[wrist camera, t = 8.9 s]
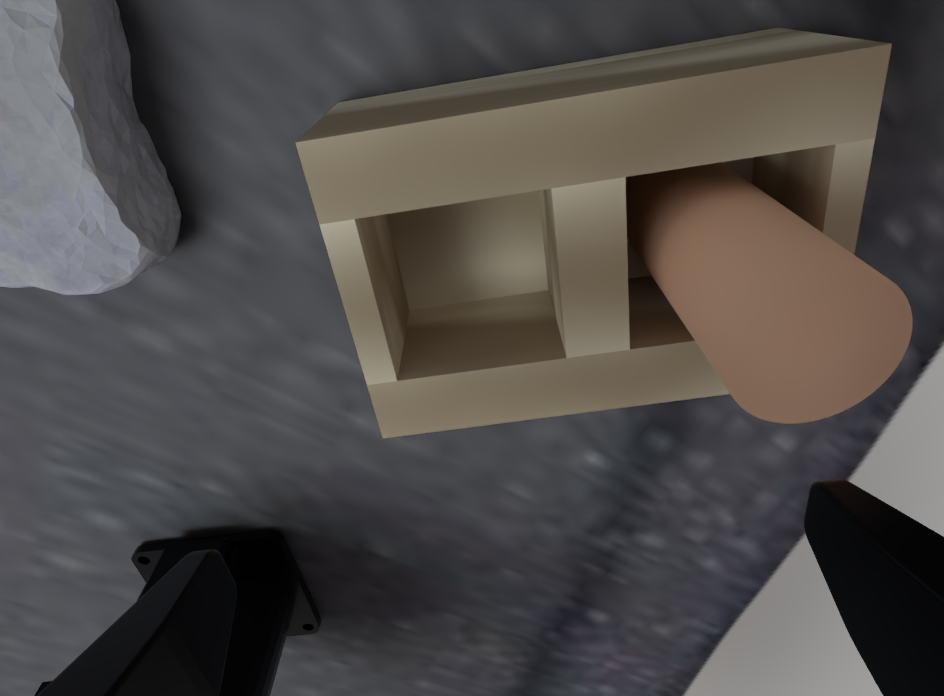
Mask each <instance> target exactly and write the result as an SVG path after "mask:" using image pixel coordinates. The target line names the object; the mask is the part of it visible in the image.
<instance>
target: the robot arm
mask: <svg viewBox="0 0 944 696" xmlns="http://www.w3.org/2000/svg"><path fill="white" fill-rule="evenodd" d="M804 528H805V533H806V536H807V538H808V541H809V543H810V545H811V548H812V550H813V552H814V555H815V557H816V559H817V562H818V564H819V566H820V568H821V571H822V573H823V576H824V578H825V580H826V582H827V585H828V587H829V589H830V592H831V594H832V596H833V599H834V601H835V603H836V606H837V608H838V610H839V612H840V615H841V617H842V619H843V622H844V624H845V626H846V628H847V630H848V632H849V634H850V637H851V638H852V640H853V642H854V644H855V646H856V648H857V650H858V652H859V653H860V655H861V657H862V659H863V660H864V662H865V664H866V666H867V668H868V669H869V671H870V673H871V675H872V676H873V678H874V680H875V682H876V684H877V685H878V687H879V689H880V691H881V692H882V694H883V696H944V537H943V536H941V535H940V534H938V533H936V532H934V531H933V530H931V529H929V528H927V527H926V526H924V525H922V524H921V523H919V522H917V521H916V520H914V519H912V518H910V517H909V516H907V515H905V514H904V513H902V512H900V511H898V510H897V509H895V508H893V507H892V506H890V505H888V504H886V503H885V502H883V501H881V500H879V499H878V498H876V497H874V496H872V495H871V494H869V493H867V492H866V491H864V490H862V489H861V488H859V487H857V486H856V485H854V484H852V483H850V482H849V481H846V480H844V479H832V480H823V481H817V482H814V483H813V484H812V486H811V488H810V492H809V498H808V503H807V508H806V513H805V519H804ZM132 562H133V563H134V565H135V566H136V568H137V569H138V571H139V572H140V574H141V575H142V577H143V579H144V580H145V582H146V585H145V586H144V588H143V590H142V592H141V594H140V596H139V598H138V600H137V601H136V603H135V604H134V605H133V606H132V607H131V608H129V609H128V610H127V611H126V612H125V613H124V614H123V615H122V616H121V617H120V618H119V619H118V620H117V621H116V622H115V623H114V624H112V625H111V626H110V627H109V628H108V629H107V630H106V631H105V632H104V633H103V634H102V635H101V636H100V637H99V638H98V639H97V640H96V641H94V642H93V643H92V644H91V645H90V646H89V647H88V648H87V649H86V650H85V651H84V652H83V653H82V654H81V655H80V656H79V657H77V658H76V659H75V660H74V661H73V662H72V663H71V664H70V665H69V666H68V667H67V668H66V669H65V670H64V671H63V672H62V673H61V674H59V675H58V676H57V677H56V678H55V679H54V680H53V681H49V682H42V684H41V686H40V687H39V689H38V691H37V692H36V694H35V696H270V694H271V690H272V686H273V683H274V679H275V676H276V672H277V668H278V665H279V661H280V657H281V654H282V650H283V646H284V643H285V639H286V636H295V635H305V634H313V633H316V632H317V631H318V630H319V627H320V623H321V618H320V616H319V614H318V612H317V609H316V607H315V605H314V603H313V600H312V598H311V596H310V594H309V592H308V589H307V587H306V585H305V583H304V580H303V578H302V576H301V574H300V572H299V569H298V567H297V565H296V563H295V561H294V558H293V556H292V554H291V552H290V549H289V547H288V545H287V543H286V541H285V538H284V536H283V535H282V534H281V533H279V532H278V531H275V530H264V531H256V532H248V533H239V534H231V535H222V536H214V537H206V538H197V539H189V540H180V541H172V542H164V543H155V544H147V545H141V546H139V547H138V548H137V549H136V550H135V552H134V554H133V555H132Z"/></svg>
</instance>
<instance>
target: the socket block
mask: <svg viewBox="0 0 944 696" xmlns="http://www.w3.org/2000/svg"><path fill="white" fill-rule="evenodd" d="M891 47H892V44H891V43H884V42H877V41H870V40H863V39H856V38H849V37H842V36H835V35H828V34H820V33H813V32H806V31H799V30H792V29H785V28H774V29H768V30H762V31H756V32H750V33H744V34H738V35H732V36H726V37H720V38H715V39H709V40H703V41H697V42H691V43H685V44H679V45H673V46H667V47H662V48H656V49H650V50H644V51H638V52H632V53H626V54H620V55H614V56H609V57H603V58H597V59H591V60H585V61H579V62H573V63H567V64H561V65H556V66H550V67H544V68H538V69H532V70H526V71H520V72H514V73H508V74H503V75H497V76H491V77H485V78H479V79H473V80H467V81H461V82H455V83H450V84H444V85H438V86H432V87H426V88H420V89H414V90H408V91H402V92H397V93H391V94H385V95H379V96H373V97H367V98H361V99H355V100H349V101H343V102H338V103H337V104H336V105H335V106H334V107H333V108H332V109H331V110H330V111H329V112H328V113H326V114H325V115H324V116H323V117H322V118H321V119H320V120H319V121H318V122H317V123H316V124H315V125H314V126H313V127H311V128H310V129H309V130H308V131H307V132H306V133H305V134H304V135H303V136H302V137H301V138H300V139H299V140H298V141H296V142H295V143H296V147H297V150H298V153H299V157H300V160H301V163H302V167H303V170H304V174H305V177H306V180H307V184H308V187H309V191H310V194H311V197H312V201H313V204H314V207H315V211H316V214H317V218H318V221H319V224H320V228H321V231H322V235H323V238H324V241H325V245H326V248H327V251H328V255H329V258H330V262H331V265H332V268H333V272H334V275H335V278H336V282H337V285H338V289H339V292H340V295H341V299H342V302H343V306H344V309H345V312H346V316H347V319H348V322H349V326H350V329H351V333H352V336H353V339H354V343H355V346H356V349H357V353H358V356H359V360H360V363H361V366H362V370H363V373H364V377H365V380H366V383H367V387H368V390H369V393H370V397H371V400H372V404H373V407H374V410H375V414H376V417H377V420H378V424H379V427H380V431H381V434H382V437H383V438H390V437H398V436H406V435H414V434H421V433H429V432H437V431H445V430H453V429H460V428H468V427H476V426H484V425H491V424H499V423H507V422H515V421H523V420H530V419H538V418H546V417H554V416H562V415H569V414H577V413H585V412H593V411H600V410H608V409H616V408H624V407H632V406H639V405H647V404H655V403H663V402H671V401H678V400H686V399H694V398H702V397H709V396H717V395H725V394H730V392H729V391H728V389H727V388H726V386H725V385H724V383H723V382H722V380H721V379H720V377H719V376H718V374H717V373H716V371H715V370H714V368H713V367H712V365H711V364H710V362H709V361H708V359H707V358H706V356H705V355H704V353H703V352H702V350H701V349H700V347H699V346H698V344H697V343H696V341H695V340H694V338H693V337H692V335H691V334H690V332H689V331H688V329H687V328H686V326H685V325H684V323H683V322H682V320H681V319H680V317H679V316H678V314H677V313H676V311H675V310H674V308H673V307H672V305H671V304H670V302H669V301H668V299H667V298H666V296H665V295H664V293H663V292H662V290H661V289H660V287H659V286H658V284H657V283H656V281H655V280H654V278H653V277H652V275H651V274H650V272H649V271H648V269H647V268H646V266H645V265H644V263H643V262H642V260H641V259H640V257H639V256H638V254H637V253H636V251H635V250H634V248H633V247H632V245H631V244H630V242H629V241H628V239H627V217H626V185H627V183H628V181H629V180H630V178H631V177H632V176H635V175H642V174H648V173H655V172H661V171H668V170H674V169H681V168H687V167H693V166H700V165H706V164H713V163H719V162H721V163H723V164H724V165H726V166H727V167H728V168H730V169H731V170H733V171H734V172H736V173H737V174H739V175H740V176H741V177H743V178H744V179H746V180H747V181H749V182H750V183H751V184H753V185H754V186H756V187H757V188H759V189H760V190H762V191H763V192H764V193H766V194H767V195H769V196H770V197H772V198H773V199H774V200H776V201H777V202H779V203H780V204H782V205H783V206H785V207H786V208H787V209H789V210H790V211H792V212H793V213H795V214H796V215H797V216H799V217H800V218H802V219H803V220H805V221H806V222H807V223H809V224H810V225H812V226H813V227H815V228H816V229H818V230H819V231H820V232H822V233H823V234H825V235H826V236H828V237H829V238H830V239H832V240H833V241H835V242H836V243H838V244H839V245H841V246H842V247H843V248H845V249H846V250H848V251H849V252H851V253H852V254H853V255H854V254H855V248H856V243H857V237H858V231H859V226H860V220H861V215H862V209H863V203H864V198H865V192H866V187H867V181H868V176H869V170H870V164H871V159H872V153H873V148H874V142H875V137H876V131H877V125H878V120H879V114H880V109H881V103H882V97H883V92H884V86H885V81H886V75H887V70H888V64H889V58H890V53H891Z"/></svg>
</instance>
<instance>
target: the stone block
mask: <svg viewBox="0 0 944 696" xmlns="http://www.w3.org/2000/svg"><path fill="white" fill-rule="evenodd" d="M130 69H131V60H130V52H129V48H128V44H127V41H126V37H125V33H124V30H123V26H122V21H121V17H120V11H119V8H118V5H117V3H116V0H0V286H1V287H11V288H22V287H38V288H41V289H45V290H49V291H54V292H57V293H60V294H64V295H82V294H99V293H102V292H105V291H109V290H112V289H115V288H118V287H121V286H124V285H126V284H127V283H129V282H130V281H131V280H132V279H133V278H135V277H136V276H137V275H138V274H140V273H142V272H144V271H145V270H147V269H148V268H150V267H153V266H155V265H158V264H159V263H161V262H162V261H163V260H164V259H165V258H166V257H168V256H169V255H170V254H172V252H173V249H174V247H175V245H176V242H177V240H178V236H179V229H180V221H181V212H180V209H179V206H178V202H177V199H176V196H175V193H174V190H173V188H172V186H171V184H170V182H169V180H168V178H167V171H166V169H165V167H164V166H163V164H162V162H161V161H160V159H159V157H158V155H157V152H156V149H155V146H154V144H153V142H152V140H151V138H150V135H149V133H148V131H147V129H146V128H145V126H144V125H143V124H142V123H141V122H140V120H139V117H138V114H137V110H136V107H135V104H134V101H133V95H132V81H131V73H130Z"/></svg>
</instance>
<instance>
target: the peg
mask: <svg viewBox="0 0 944 696" xmlns="http://www.w3.org/2000/svg"><path fill="white" fill-rule="evenodd" d="M626 217H627V239H628V241H629V242H630V244H631V245H632V247H633V248H634V250H635V251H636V253H637V254H638V256H639V257H640V259H641V260H642V262H643V263H644V265H645V266H646V268H647V269H648V271H649V272H650V274H651V275H652V277H653V278H654V280H655V281H656V283H657V284H658V286H659V287H660V289H661V290H662V292H663V293H664V295H665V296H666V298H667V299H668V301H669V302H670V304H671V305H672V307H673V308H674V310H675V311H676V313H677V314H678V316H679V317H680V319H681V320H682V322H683V323H684V325H685V326H686V328H687V329H688V331H689V332H690V334H691V335H692V337H693V338H694V340H695V341H696V343H697V344H698V346H699V347H700V349H701V350H702V352H703V353H704V355H705V356H706V358H707V359H708V361H709V362H710V364H711V365H712V367H713V368H714V370H715V371H716V373H717V374H718V376H719V377H720V379H721V380H722V382H723V383H724V385H725V386H726V388H727V389H728V391H729V392H730V394H731V395H732V397H733V398H734V400H735V401H736V402H737V403H738V404H739V406H740V407H742V408H743V409H744V410H745V411H747V412H748V413H750V414H752V415H753V416H755V417H758V418H760V419H763V420H766V421H770V422H775V423H784V424H796V423H806V422H811V421H816V420H820V419H824V418H827V417H830V416H833V415H835V414H838V413H840V412H843V411H845V410H847V409H849V408H851V407H852V406H854V405H856V404H857V403H859V402H861V401H862V400H864V399H865V398H866V397H868V396H869V395H871V394H872V393H873V392H874V391H875V390H877V389H878V388H879V387H880V386H881V385H882V384H883V383H884V382H885V381H886V380H887V379H888V378H889V377H890V376H891V374H892V373H893V372H894V370H895V369H896V368H897V366H898V365H899V363H900V361H901V360H902V358H903V356H904V354H905V352H906V350H907V348H908V345H909V342H910V338H911V333H912V327H913V326H912V312H911V307H910V304H909V302H908V299H907V298H906V296H905V294H904V293H903V291H902V290H901V289H900V288H899V287H898V286H897V285H896V284H895V283H894V282H892V281H891V280H889V279H888V278H887V277H885V276H884V275H882V274H881V273H879V272H878V271H876V270H875V269H874V268H872V267H871V266H869V265H868V264H866V263H865V262H864V261H862V260H861V259H859V258H858V257H856V256H855V255H853V254H852V253H851V252H849V251H848V250H846V249H845V248H843V247H842V246H841V245H839V244H838V243H836V242H835V241H833V240H832V239H830V238H829V237H828V236H826V235H825V234H823V233H822V232H820V231H819V230H818V229H816V228H815V227H813V226H812V225H810V224H809V223H807V222H806V221H805V220H803V219H802V218H800V217H799V216H797V215H796V214H795V213H793V212H792V211H790V210H789V209H787V208H786V207H785V206H783V205H782V204H780V203H779V202H777V201H776V200H774V199H773V198H772V197H770V196H769V195H767V194H766V193H764V192H763V191H762V190H760V189H759V188H757V187H756V186H754V185H753V184H751V183H750V182H749V181H747V180H746V179H744V178H743V177H741V176H740V175H739V174H737V173H736V172H734V171H733V170H731V169H730V168H728V167H727V166H726V165H724V164H723V163H721V162H719V163H713V164H706V165H700V166H693V167H687V168H681V169H674V170H668V171H661V172H655V173H648V174H642V175H635V176H632V177H631V178H630V180H629V181H628V183H627V185H626Z"/></svg>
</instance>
